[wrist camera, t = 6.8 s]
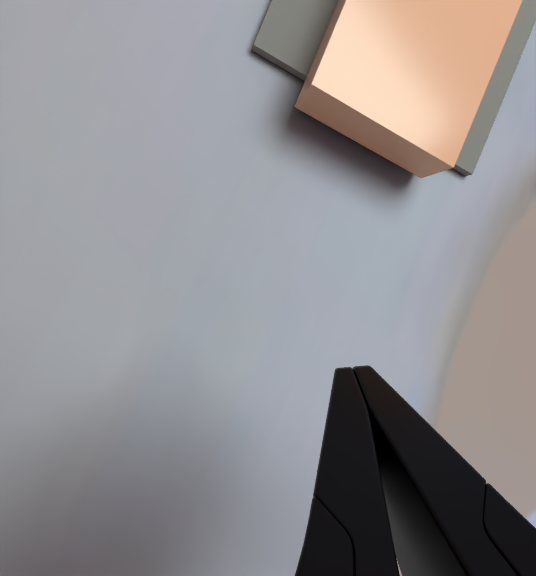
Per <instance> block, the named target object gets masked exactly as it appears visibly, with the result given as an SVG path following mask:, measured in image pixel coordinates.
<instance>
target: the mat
mask: <svg viewBox="0 0 536 576" xmlns="http://www.w3.org/2000/svg"><path fill="white" fill-rule="evenodd" d="M337 3H338V0H272V1H271V4H270V6H269V9H268V11H267V13H266V16H265V18H264V21H263V23H262V25H261V28H260V30H259V33H258V35H257V37H256V40H255V42H254V45H253V48H252V51H254V52H256V53H257V54H259V55H261V56H262V57H264V58H266V59H267V60H269V61H271V62H273V63H274V64H276V65H278V66H279V67H281V68H283V69H284V70H286V71H288V72H290V73H291V74H293V75H295V76H296V77H298V78H300V79H301V80H303V81H305V80H306V77H307V75H308V73H309V70H310V68H311V65H312V63H313V61H314V58H315V56H316V53H317V51H318V48H319V46H320V44H321V41H322V39H323V36H324V34H325V32H326V29H327V27H328V24H329V22H330V19H331V17H332V15H333V12H334V10H335V7H336V5H337ZM535 21H536V0H522V3H521V5H520V8H519V10H518V12H517V15H516V17H515V20H514V22H513V25H512V27H511V29H510V32H509V34H508V37H507V39H506V42H505V44H504V46H503V49H502V51H501V54H500V56H499V59H498V61H497V64H496V66H495V68H494V71H493V73H492V76H491V78H490V81H489V83H488V85H487V88H486V90H485V93H484V95H483V98H482V100H481V102H480V105H479V107H478V110H477V112H476V115H475V117H474V119H473V122H472V124H471V127H470V129H469V132H468V134H467V137H466V139H465V141H464V144H463V146H462V149H461V151H460V154H459V156H458V158H457V161H456V163H455V166H454V168H453V169H455V170H456V171H458V172H460V173H462V174H463V175H465V176H468V175H472V174H473V172H474V169H475V167H476V164H477V162H478V160H479V157H480V155H481V152H482V150H483V147H484V145H485V143H486V140H487V138H488V135H489V133H490V130H491V128H492V126H493V123H494V121H495V118H496V116H497V113H498V111H499V108H500V106H501V104H502V101H503V99H504V96H505V94H506V91H507V89H508V87H509V84H510V82H511V79H512V77H513V74H514V72H515V70H516V67H517V65H518V62H519V60H520V57H521V55H522V53H523V50H524V48H525V45H526V43H527V40H528V38H529V36H530V33H531V31H532V28H533V26H534V23H535Z"/></svg>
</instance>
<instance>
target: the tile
mask: <svg viewBox="0 0 536 576" xmlns="http://www.w3.org/2000/svg"><path fill="white" fill-rule="evenodd" d="M521 3H522V0H338V3H337V5H336V7H335V10H334V12H333V15H332V17H331V19H330V22H329V24H328V27H327V29H326V32H325V34H324V36H323V39H322V41H321V44H320V46H319V48H318V51H317V53H316V56H315V58H314V61H313V63H312V65H311V68H310V70H309V73H308V75H307V77H306V80H305V82H304V85H303V87H302V89H301V92H300V94H299V97H298V99H297V102H296V104H295V106H294V107H295V108H297V109H299V110H301V111H302V112H304V113H306V114H308V115H310V116H311V117H313V118H315V119H317V120H318V121H320V122H322V123H324V124H326V125H327V126H329V127H331V128H333V129H334V130H336V131H338V132H340V133H342V134H343V135H345V136H347V137H349V138H350V139H352V140H354V141H356V142H358V143H359V144H361V145H363V146H365V147H366V148H368V149H370V150H372V151H374V152H375V153H377V154H379V155H381V156H382V157H384V158H386V159H388V160H390V161H391V162H393V163H395V164H397V165H398V166H400V167H402V168H404V169H406V170H407V171H409V172H411V173H413V174H414V175H416V176H418V177H420V178H423V177H426V176H429V175H432V174H436V173H439V172H442V171H445V170H448V169H451V168H454V166H455V163H456V161H457V158H458V156H459V154H460V151H461V149H462V146H463V144H464V141H465V139H466V137H467V134H468V132H469V129H470V127H471V124H472V122H473V119H474V117H475V115H476V112H477V110H478V107H479V105H480V102H481V100H482V98H483V95H484V93H485V90H486V88H487V85H488V83H489V81H490V78H491V76H492V73H493V71H494V68H495V66H496V64H497V61H498V59H499V56H500V54H501V51H502V49H503V46H504V44H505V42H506V39H507V37H508V34H509V32H510V29H511V27H512V25H513V22H514V20H515V17H516V15H517V12H518V10H519V8H520V5H521Z"/></svg>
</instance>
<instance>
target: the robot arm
mask: <svg viewBox="0 0 536 576" xmlns="http://www.w3.org/2000/svg"><path fill="white" fill-rule="evenodd" d="M396 558H397V559H396ZM397 561H398V564H399V567H400V570H401V573H402V576H536V528H535V527H534V526H533V525H532V524H531V523H530V522H528V521H527V520H526V519H525V518H524V517H523V516H522V515H521V514H520V513H519V512H518V511H517V510H516V509H515V508H514V507H513V506H512V505H510V503H508V502H507V501H506V500H505V499H504V498H503V497H502V496H501V495H500V494H499V493H498V492H497V491H496V490H495V489H494V488H493V487H492V486H491V485H490V484H488V483H487V484H486V480H485V479H484V478H483V477H482V476H481V475H480V474H479V473H478V472H477V471H476V470H475V469H474V468H473V467H472V466H471V465H470V464H469V463H468V462H467V461H466V460H465V459H464V458H463V457H462V456H461V455H460V454H459V453H458V452H457V451H456V450H455V449H454V448H453V447H452V446H451V445H450V444H448V442H446V440H444V438H442V436H441V435H440V434H439V433H437V432H436V431H435V430H434V429H433V428H432V427H431V426H430V425H429V424H428V423H427V422H426V421H425V420H424V419H423V418H422V417H421V416H420V415H419V414H418V413H417V412H416V411H415V410H414V409H413V408H412V407H411V406H410V405H409V404H408V403H407V402H406V401H405V400H404V399H403V398H402V397H401V396H400V395H399V394H398V393H397V392H396V391H395V390H394V389H393V388H392V387H391V386H390V385H389V384H388V383H387V382H386V381H385V380H384V379H383V378H382V377H381V376H380V375H379V374H378V373H377V372H376V371H375V370H374V369H373V368H372V367H370V366H368V365H366V366H355V367H353V369H352V368H351V367H344V368H337V369H335V373H334V378H333V384H332V390H331V396H330V401H329V407H328V413H327V419H326V424H325V430H324V436H323V442H322V447H321V453H320V459H319V465H318V470H317V476H316V482H315V488H314V493H313V499H312V504H311V510H310V515H309V520H308V525H307V530H306V535H305V540H304V544H303V548H302V552H301V555H300V559H299V562H298V566H297V570H296V573H295V576H400V575H399V570H398V564H397Z"/></svg>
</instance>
